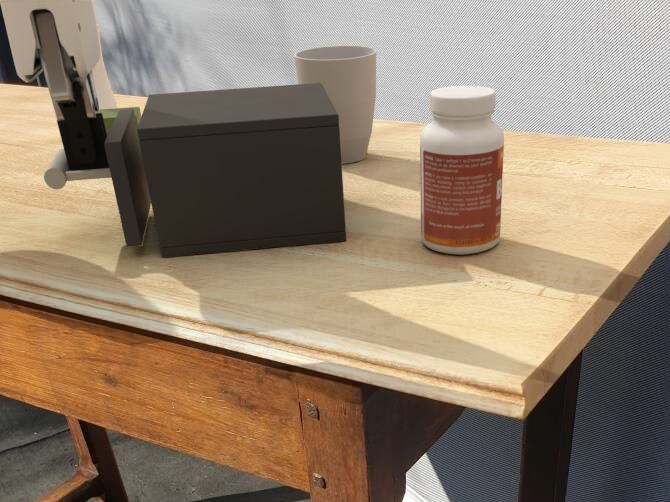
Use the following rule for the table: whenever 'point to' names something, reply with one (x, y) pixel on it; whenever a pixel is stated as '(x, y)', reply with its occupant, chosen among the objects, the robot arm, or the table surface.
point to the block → (111, 114)
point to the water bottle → (101, 77)
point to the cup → (345, 91)
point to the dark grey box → (243, 168)
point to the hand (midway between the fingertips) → (92, 169)
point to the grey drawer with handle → (116, 175)
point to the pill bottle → (461, 171)
